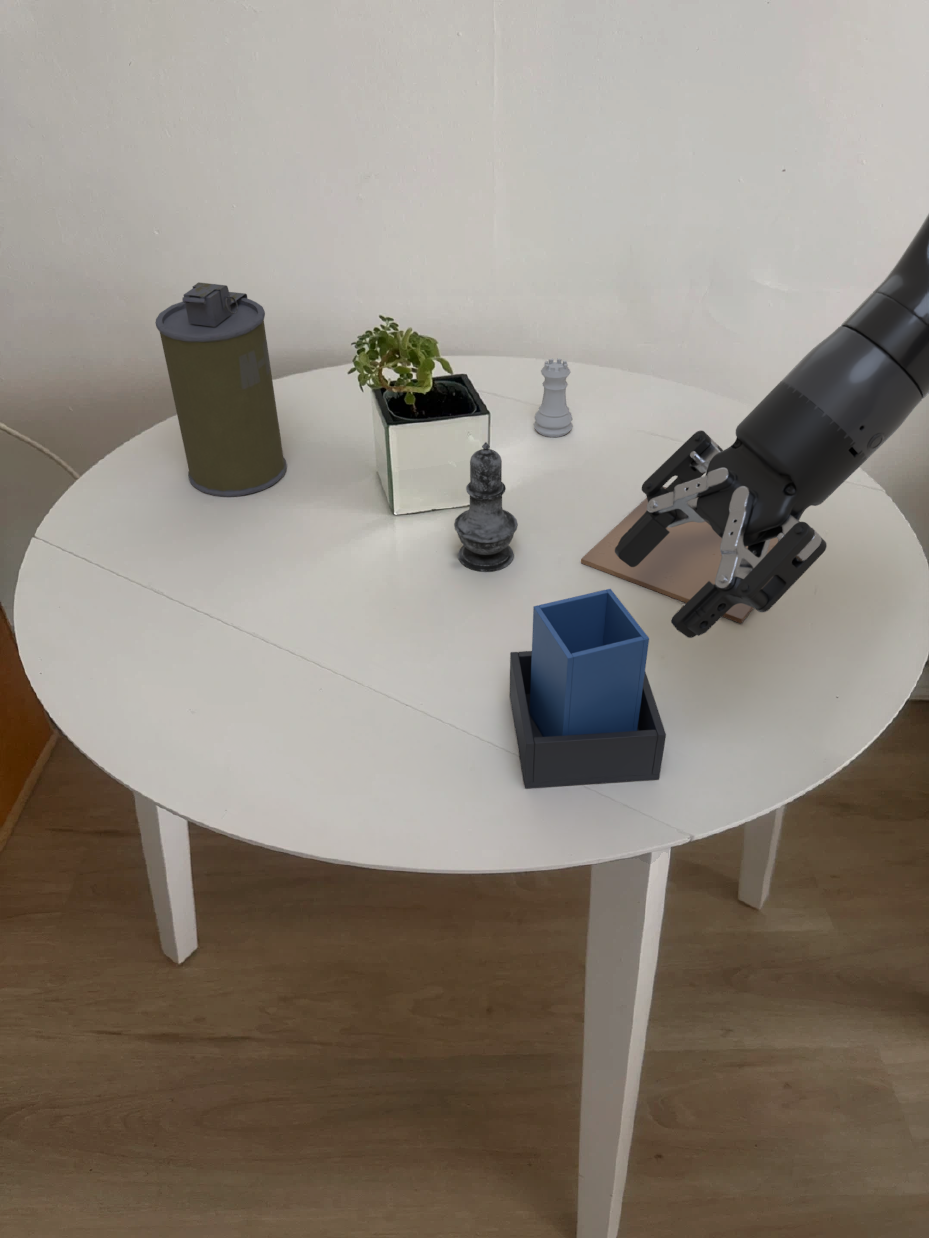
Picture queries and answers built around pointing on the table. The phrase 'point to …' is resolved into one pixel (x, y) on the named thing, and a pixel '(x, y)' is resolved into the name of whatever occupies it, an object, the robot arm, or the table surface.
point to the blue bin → (586, 666)
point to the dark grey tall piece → (485, 516)
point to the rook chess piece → (554, 401)
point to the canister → (223, 390)
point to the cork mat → (669, 560)
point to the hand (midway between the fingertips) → (650, 593)
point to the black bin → (583, 742)
